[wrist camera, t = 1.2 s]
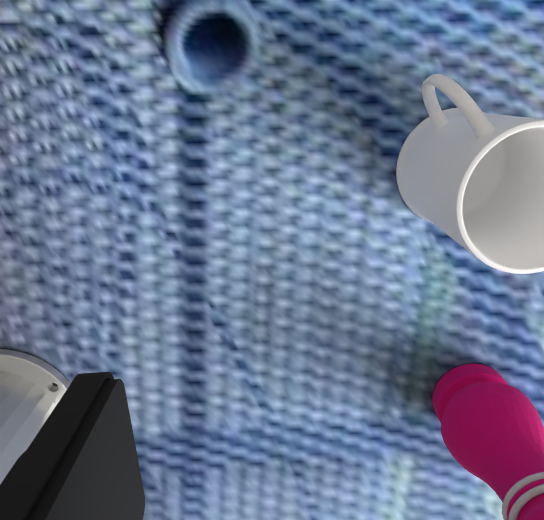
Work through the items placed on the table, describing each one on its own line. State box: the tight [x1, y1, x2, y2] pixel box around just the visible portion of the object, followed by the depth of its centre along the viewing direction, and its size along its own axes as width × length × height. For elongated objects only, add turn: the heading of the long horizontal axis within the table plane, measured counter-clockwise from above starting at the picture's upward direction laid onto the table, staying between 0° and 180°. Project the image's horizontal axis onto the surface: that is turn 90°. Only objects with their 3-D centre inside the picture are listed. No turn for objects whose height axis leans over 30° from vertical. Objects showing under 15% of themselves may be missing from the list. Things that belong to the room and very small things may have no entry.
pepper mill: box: [432, 364, 544, 520], centre depth 35 cm, size 7×7×20 cm
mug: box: [396, 74, 544, 274], centre depth 32 cm, size 12×8×12 cm
